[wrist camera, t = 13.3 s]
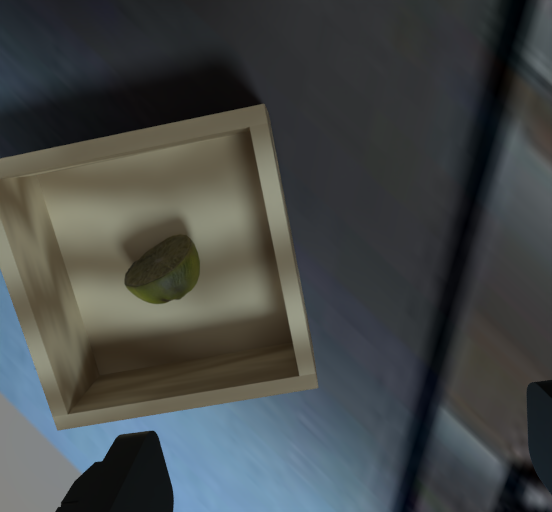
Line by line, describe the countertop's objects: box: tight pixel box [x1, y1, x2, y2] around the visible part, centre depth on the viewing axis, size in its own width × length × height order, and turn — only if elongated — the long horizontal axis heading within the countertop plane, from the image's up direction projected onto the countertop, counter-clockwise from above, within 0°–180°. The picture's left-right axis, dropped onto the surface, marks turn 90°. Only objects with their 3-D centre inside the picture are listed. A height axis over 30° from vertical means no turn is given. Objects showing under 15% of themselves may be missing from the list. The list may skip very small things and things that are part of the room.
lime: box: [124, 234, 200, 304], centre depth 28 cm, size 4×5×5 cm
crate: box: [0, 104, 318, 430], centre depth 29 cm, size 17×17×6 cm
